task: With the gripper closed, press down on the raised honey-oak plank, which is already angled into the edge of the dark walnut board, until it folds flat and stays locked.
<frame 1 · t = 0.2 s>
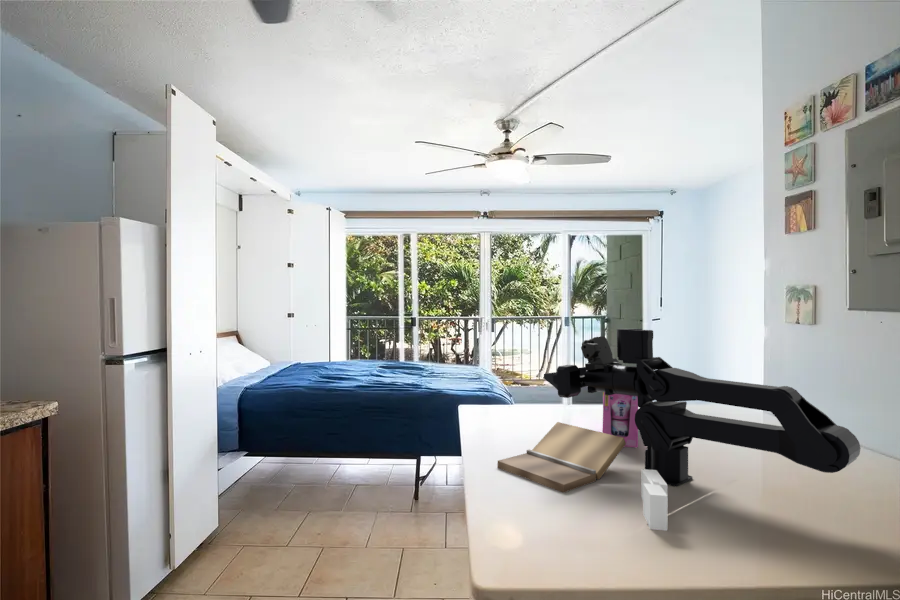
hand: (557, 373, 110), 16 cm above the counter, tool horizontal, fingers open, 9 cm apart
walnut board: (544, 474, 92), on the counter
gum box: (620, 435, 121), on the counter
napkin holder: (650, 518, 75), on the counter
oak plank: (576, 448, 98), point 3 cm above the counter, hinge at 30.0°
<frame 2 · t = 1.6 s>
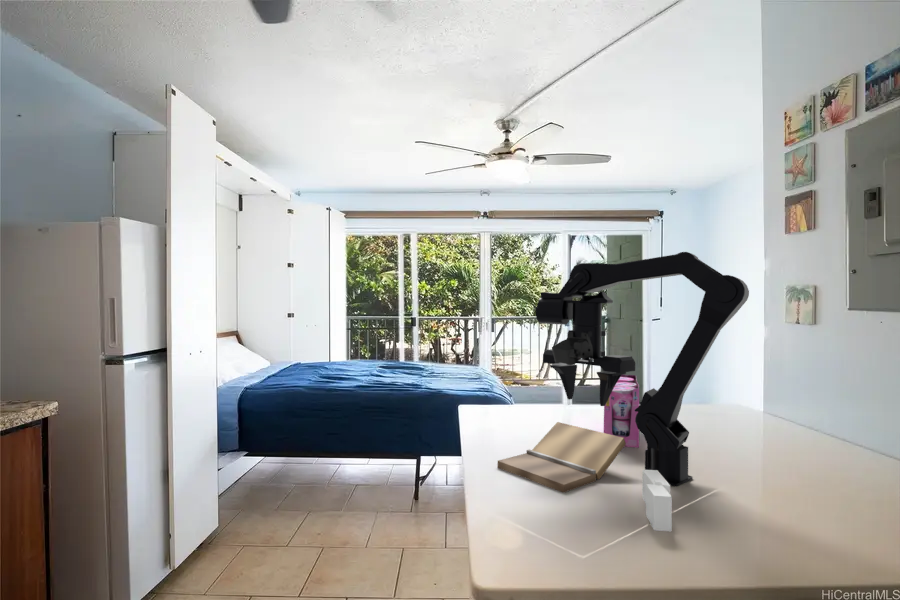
hand: (585, 402, 100), 12 cm above the counter, tool pointing down, fingers open, 8 cm apart
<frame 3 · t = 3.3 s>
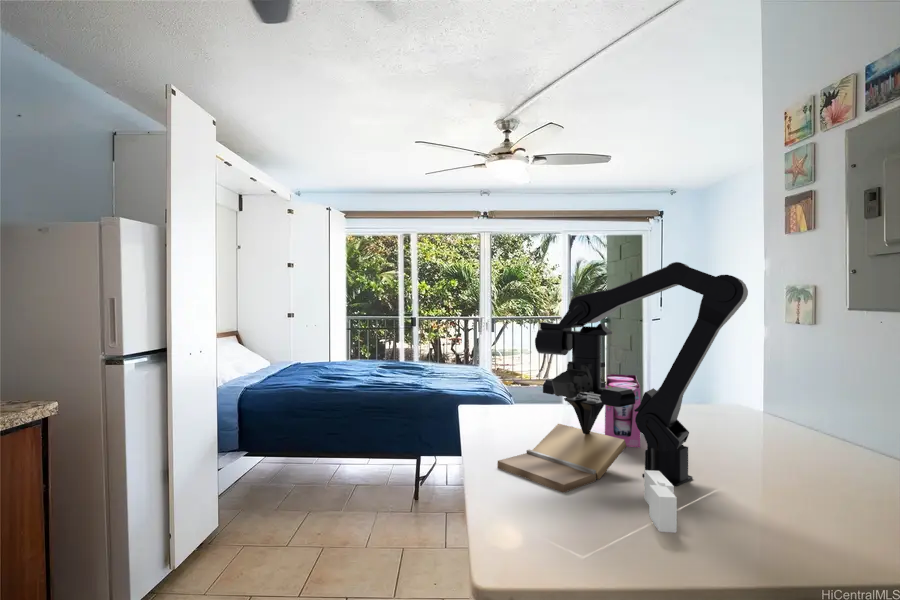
hand: (586, 433, 100), 6 cm above the counter, tool pointing down, fingers closed, pressing on oak plank
oak plank: (576, 449, 98), point 3 cm above the counter, hinge at 27.1°, touching gripper
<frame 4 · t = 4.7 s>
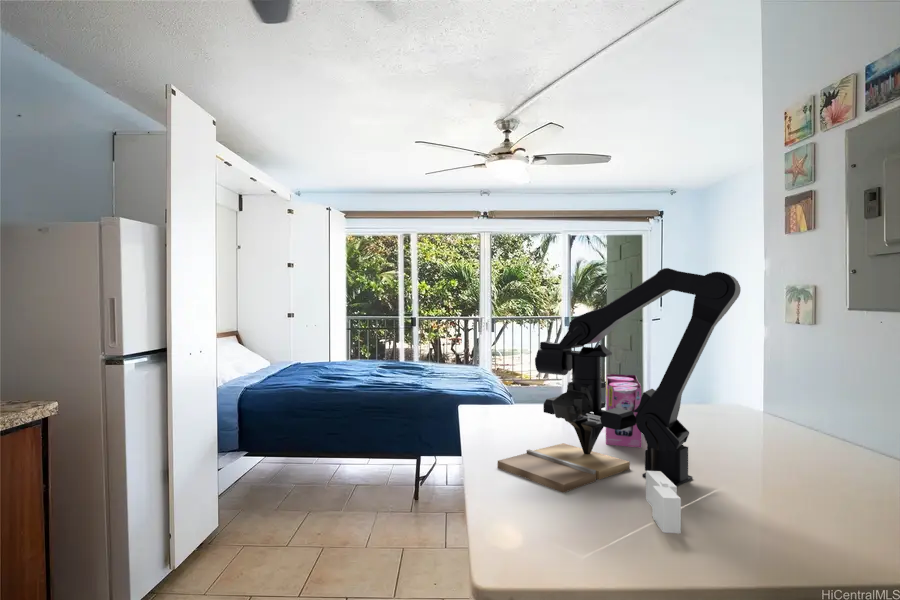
hand: (587, 453, 100), 2 cm above the counter, tool pointing down, fingers closed, pressing on oak plank
oak plank: (579, 459, 98), point 1 cm above the counter, hinge at -0.9°, touching gripper
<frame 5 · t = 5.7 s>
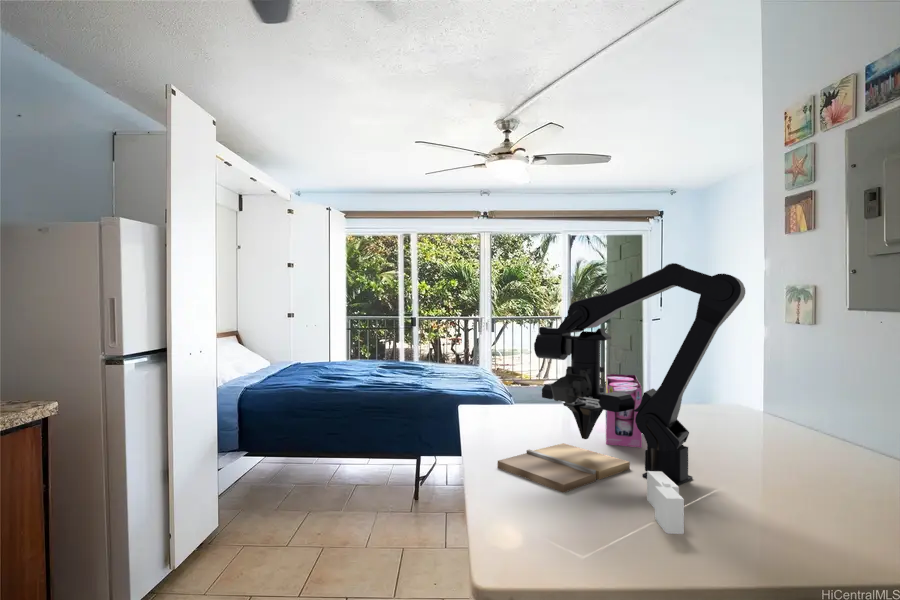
hand: (585, 438, 100), 5 cm above the counter, tool pointing down, fingers closed
oak plank: (579, 459, 98), point 1 cm above the counter, hinge at -1.0°
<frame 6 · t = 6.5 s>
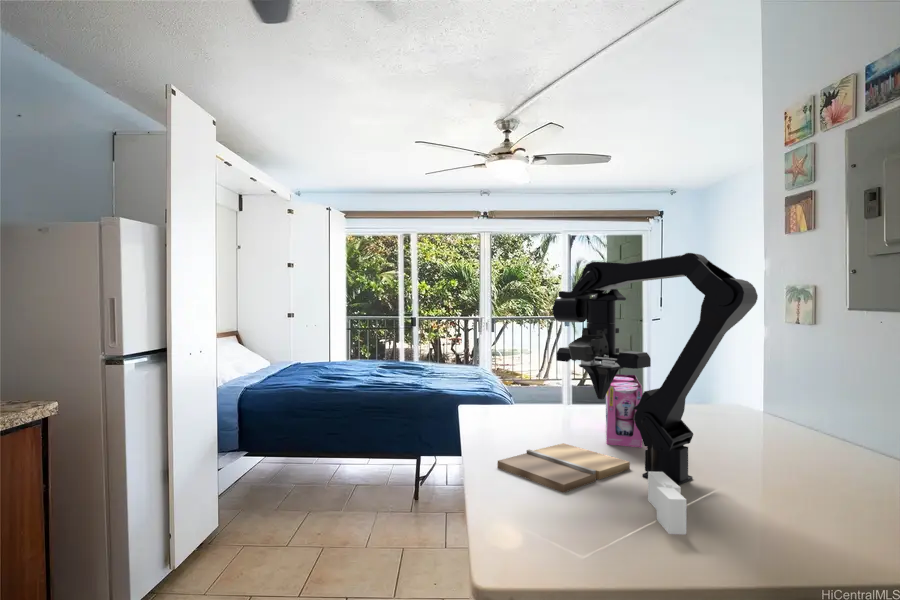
hand: (600, 399, 101), 13 cm above the counter, tool pointing down, fingers closed
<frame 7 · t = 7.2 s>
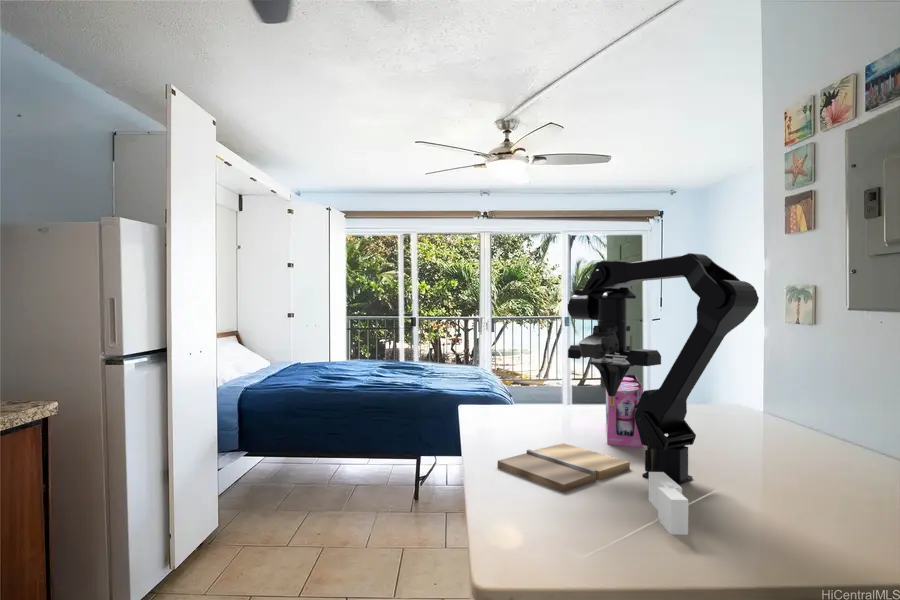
hand: (611, 396, 102), 13 cm above the counter, tool pointing down, fingers closed
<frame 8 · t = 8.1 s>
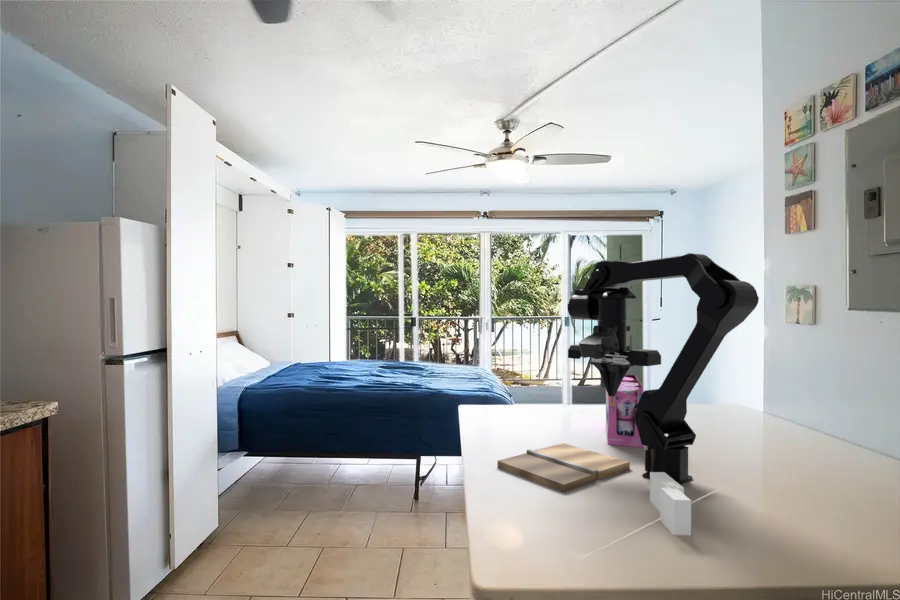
hand: (611, 396, 102), 13 cm above the counter, tool pointing down, fingers closed
at the end: oak plank at -1° (first picture: +30°) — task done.
